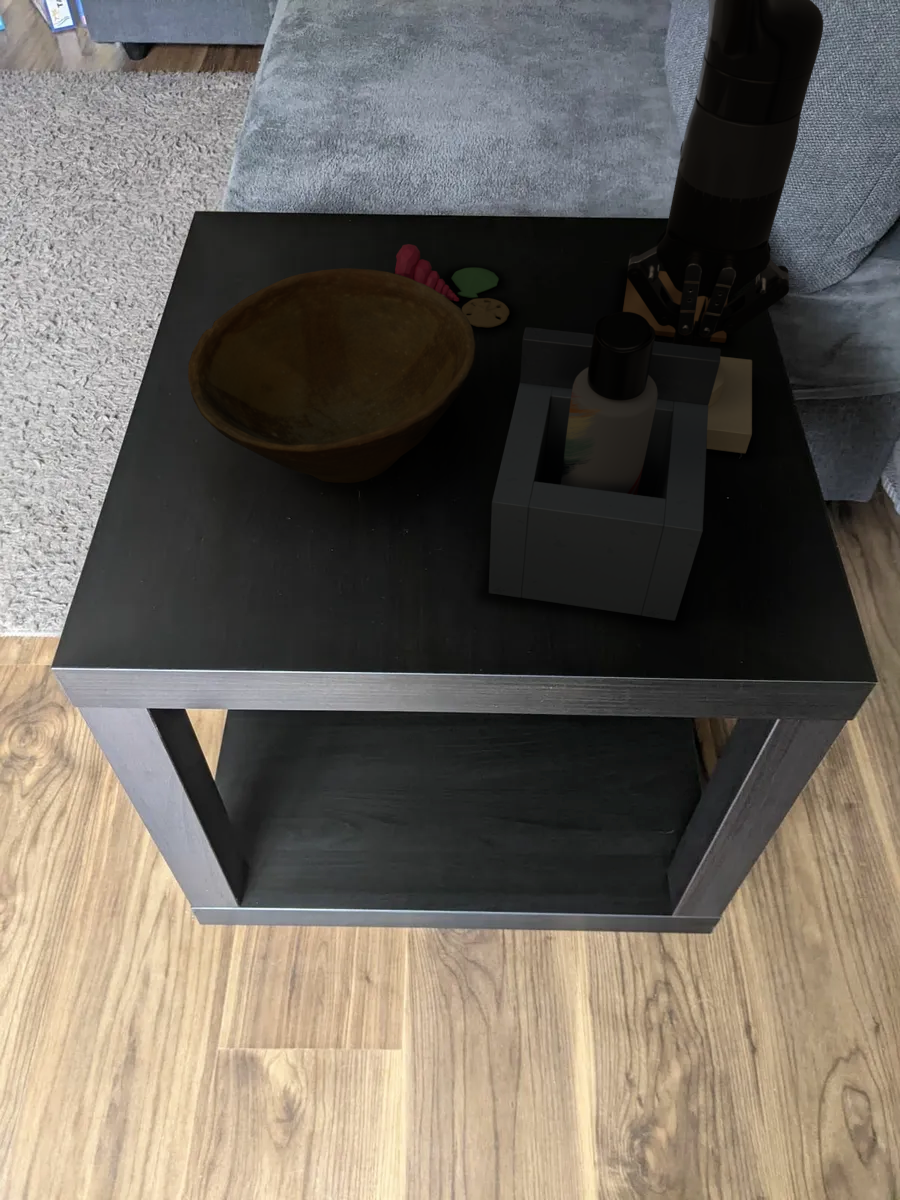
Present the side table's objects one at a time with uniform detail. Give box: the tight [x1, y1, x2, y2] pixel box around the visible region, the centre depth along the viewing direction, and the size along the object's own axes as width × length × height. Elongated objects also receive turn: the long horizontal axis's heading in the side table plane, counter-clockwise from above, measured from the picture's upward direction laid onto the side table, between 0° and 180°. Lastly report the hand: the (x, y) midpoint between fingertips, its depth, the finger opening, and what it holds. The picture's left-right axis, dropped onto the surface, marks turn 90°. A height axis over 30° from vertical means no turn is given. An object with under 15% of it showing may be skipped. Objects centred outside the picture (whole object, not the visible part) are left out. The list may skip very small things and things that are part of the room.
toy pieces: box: [394, 243, 510, 329], centre depth 92 cm, size 12×11×4 cm
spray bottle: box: [561, 311, 658, 495], centre depth 66 cm, size 6×6×20 cm
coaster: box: [622, 270, 729, 344], centre depth 92 cm, size 10×10×1 cm
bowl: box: [187, 267, 477, 484], centre depth 77 cm, size 22×23×10 cm
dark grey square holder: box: [488, 326, 722, 622], centre depth 68 cm, size 14×14×14 cm
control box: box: [706, 355, 753, 454], centre depth 82 cm, size 12×10×4 cm
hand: (686, 364), depth 80 cm, fingers closed
